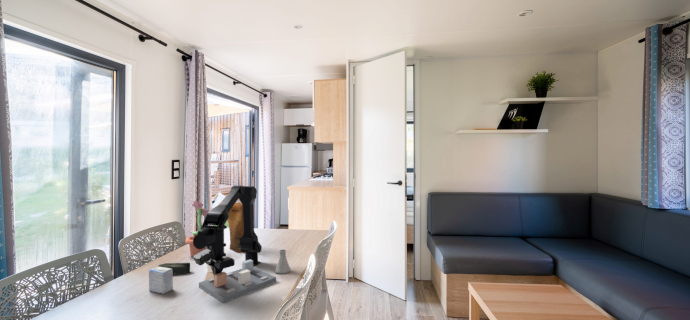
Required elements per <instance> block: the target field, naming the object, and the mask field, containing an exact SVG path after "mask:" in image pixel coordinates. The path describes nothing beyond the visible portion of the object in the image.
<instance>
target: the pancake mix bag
mask: <svg viewBox="0 0 690 320" xmlns="http://www.w3.org/2000/svg"><path fill="white" fill-rule="evenodd" d="M227 224H228V229H229V241H230V242H229V243H230V244H229V250H231V251H233V252H235V253H238V254H245V252H241V247H240V238H241V237H242V235H243V234H244V227H243V205H242V203H241V202H240V203H239V202H236V203H235V204H234V205H233V207H232V208H231V210H230V211H229V217H228V219H227Z"/></svg>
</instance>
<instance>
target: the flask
mask: <svg viewBox="0 0 690 320" xmlns="http://www.w3.org/2000/svg"><path fill="white" fill-rule="evenodd" d="M286 252H287V249H280V250H279V257H278V262H277V265H276V268H275V271H274V274H278V275H283V274H284V275H286V274H288V273H289V272H291V267H290V265H289V263H288V260H287V259H288V258H287V255H286Z"/></svg>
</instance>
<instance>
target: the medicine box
mask: <svg viewBox="0 0 690 320" xmlns="http://www.w3.org/2000/svg"><path fill="white" fill-rule="evenodd" d="M173 277H174V275H173V271H172V269H171V268H165V267H158V266H156V267H153V268H151V269H149V270H148V291H149V292H153V293H159V294H162V295H163V294H166V293H168V292H171V291H172V290H174V284H173V283H174V280H173Z"/></svg>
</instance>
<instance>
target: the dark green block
mask: <svg viewBox="0 0 690 320" xmlns="http://www.w3.org/2000/svg"><path fill="white" fill-rule="evenodd" d="M157 267H165V268H171V269H172V271H173V276H174V275H184V274H185V275H186V274H188V273H190V272H191V263H190V262H166V263H161V264H159V265H158V266H157Z"/></svg>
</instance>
